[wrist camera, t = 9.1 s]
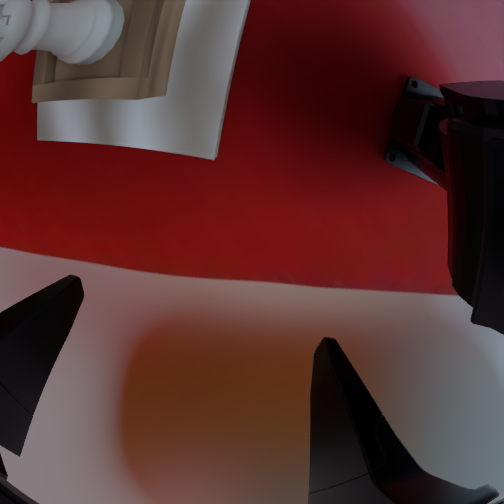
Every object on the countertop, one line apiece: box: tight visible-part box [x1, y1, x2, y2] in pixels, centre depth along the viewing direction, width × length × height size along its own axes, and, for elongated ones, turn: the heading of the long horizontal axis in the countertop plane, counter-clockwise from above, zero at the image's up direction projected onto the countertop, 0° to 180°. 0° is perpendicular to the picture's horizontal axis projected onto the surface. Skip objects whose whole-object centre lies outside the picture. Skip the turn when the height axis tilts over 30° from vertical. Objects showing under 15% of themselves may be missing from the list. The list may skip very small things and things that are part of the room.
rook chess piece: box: [0, 0, 124, 65], centre depth 6 cm, size 4×4×8 cm
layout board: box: [32, 0, 251, 160], centre depth 11 cm, size 16×16×5 cm
